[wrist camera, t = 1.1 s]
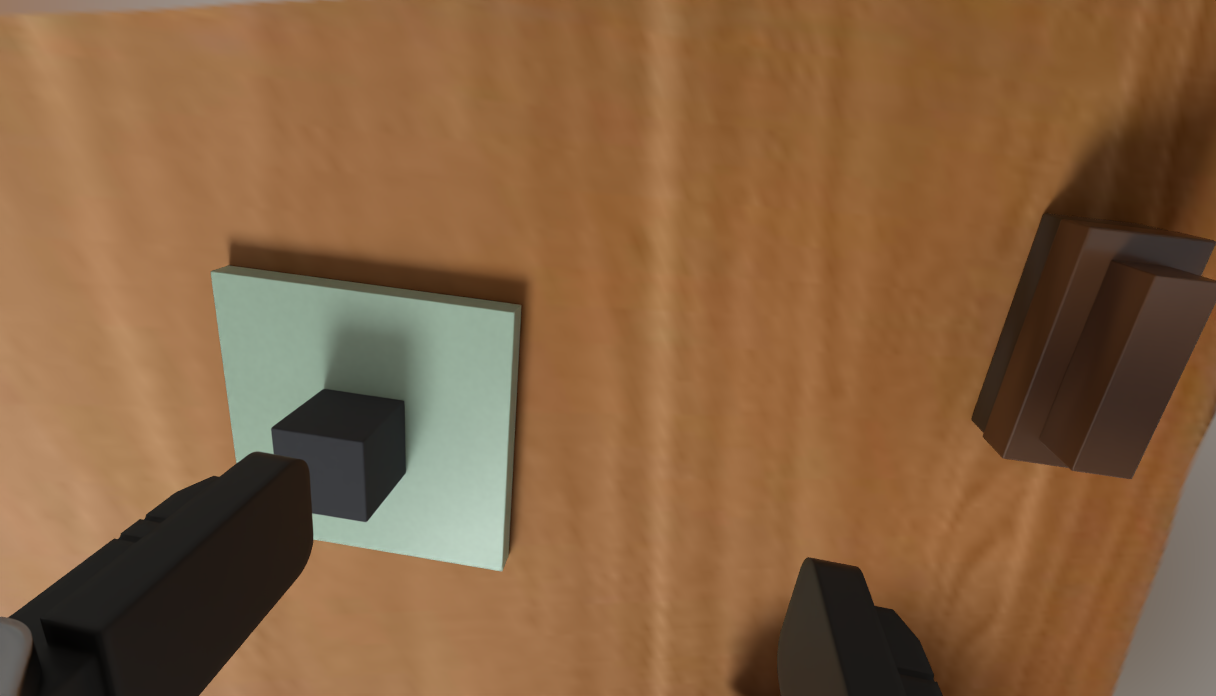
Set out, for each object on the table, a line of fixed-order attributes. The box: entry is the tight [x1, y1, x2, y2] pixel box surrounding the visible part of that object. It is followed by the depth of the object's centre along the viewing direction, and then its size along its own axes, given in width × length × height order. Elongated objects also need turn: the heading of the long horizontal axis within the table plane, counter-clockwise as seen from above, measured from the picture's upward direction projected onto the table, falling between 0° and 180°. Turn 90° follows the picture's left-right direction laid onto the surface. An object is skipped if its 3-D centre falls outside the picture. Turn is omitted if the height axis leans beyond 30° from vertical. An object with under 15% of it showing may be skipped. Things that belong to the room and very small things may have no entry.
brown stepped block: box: [972, 213, 1216, 479], centre depth 23 cm, size 9×4×6 cm, turn 174°
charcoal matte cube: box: [271, 389, 406, 522], centre depth 28 cm, size 4×4×4 cm
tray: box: [211, 266, 521, 571], centre depth 30 cm, size 14×14×1 cm
